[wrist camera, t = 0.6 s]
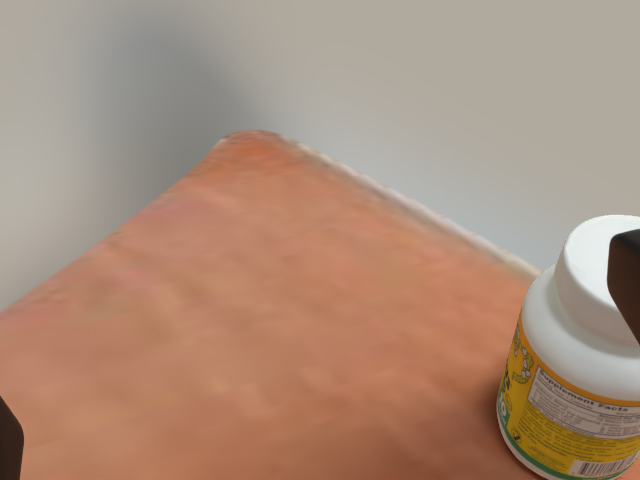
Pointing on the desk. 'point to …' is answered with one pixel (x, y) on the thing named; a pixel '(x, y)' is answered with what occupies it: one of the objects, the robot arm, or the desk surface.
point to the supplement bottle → (574, 367)
